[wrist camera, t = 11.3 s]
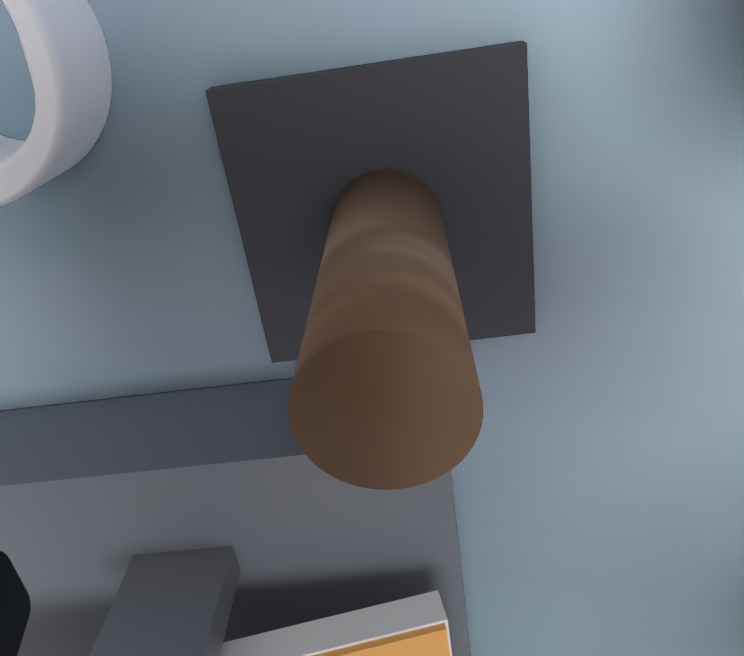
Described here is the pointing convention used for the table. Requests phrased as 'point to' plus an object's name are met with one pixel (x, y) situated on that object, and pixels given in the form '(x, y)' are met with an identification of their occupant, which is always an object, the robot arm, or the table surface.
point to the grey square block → (203, 526)
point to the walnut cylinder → (386, 343)
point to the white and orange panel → (359, 633)
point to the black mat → (385, 151)
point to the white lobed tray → (57, 92)
